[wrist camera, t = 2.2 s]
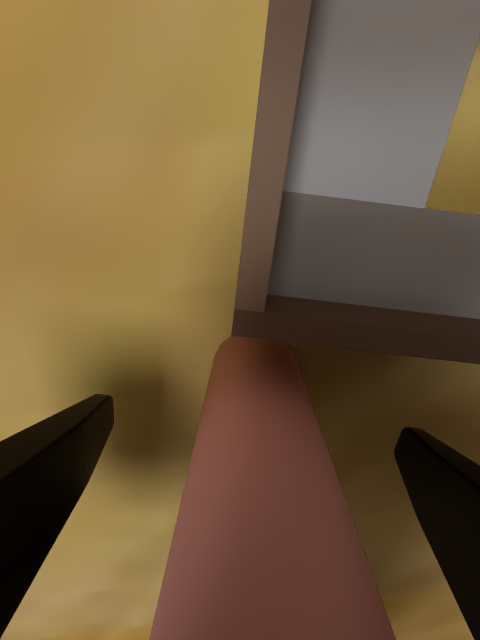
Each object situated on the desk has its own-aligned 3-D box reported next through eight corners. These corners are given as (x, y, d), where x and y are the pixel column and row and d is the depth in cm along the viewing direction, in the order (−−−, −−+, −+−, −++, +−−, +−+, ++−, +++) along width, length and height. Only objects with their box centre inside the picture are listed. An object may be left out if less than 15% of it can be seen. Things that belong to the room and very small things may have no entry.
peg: (288, 406, 11) (422, 999, 3) (209, 398, 11) (93, 977, 3) (303, 335, 10) (615, 957, 2) (216, 325, 10) (52, 916, 2)
